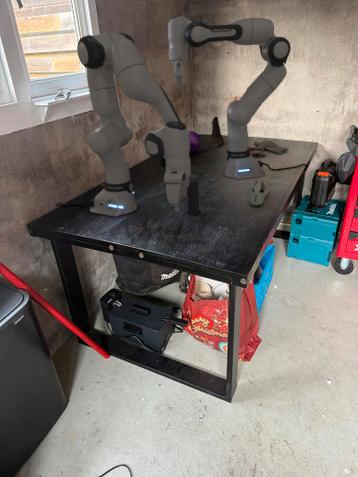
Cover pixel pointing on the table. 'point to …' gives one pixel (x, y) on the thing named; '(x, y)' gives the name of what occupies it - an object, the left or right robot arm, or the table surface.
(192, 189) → the black cylinder
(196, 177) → the lid
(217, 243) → the table surface
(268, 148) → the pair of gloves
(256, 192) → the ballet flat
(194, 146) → the decorative orb
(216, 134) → the boot
